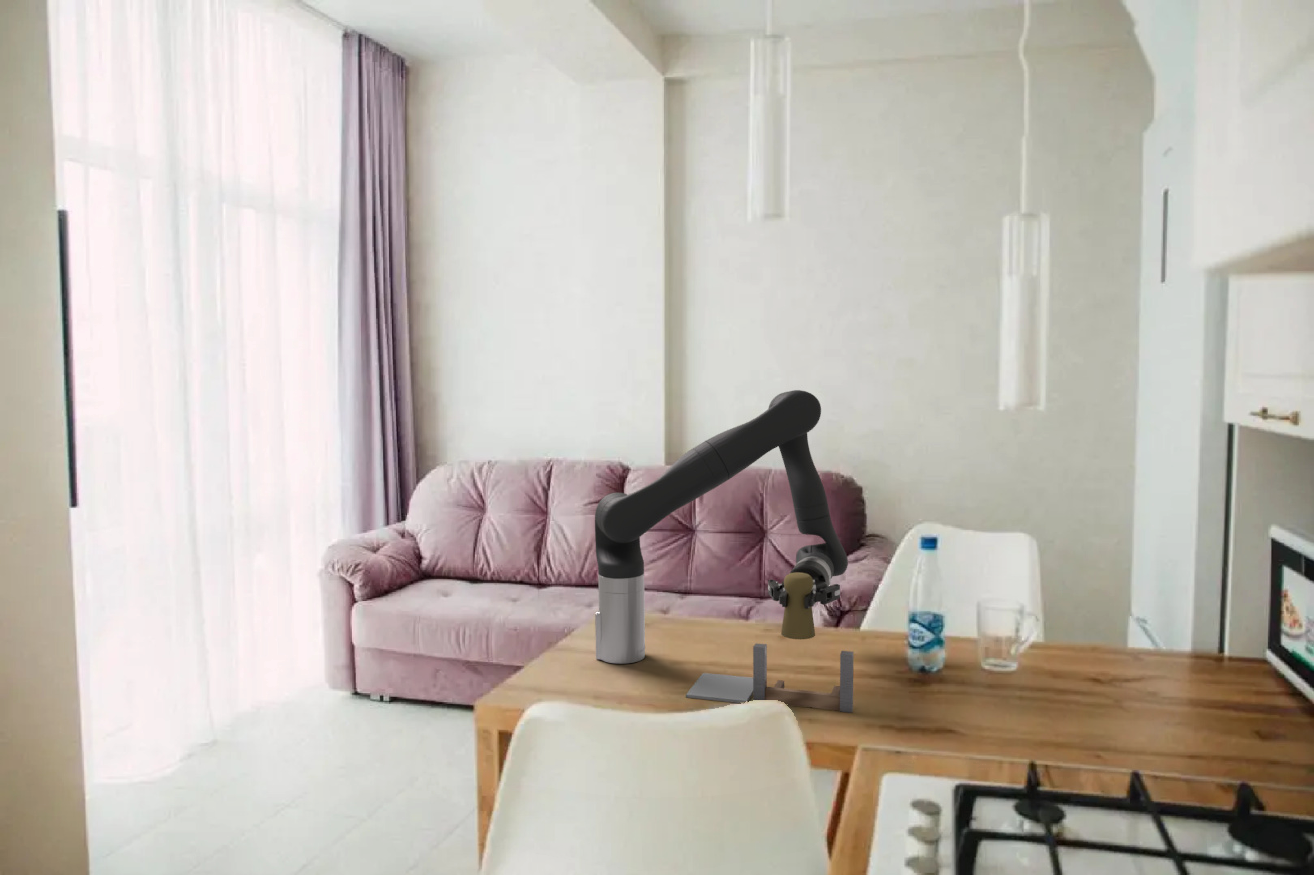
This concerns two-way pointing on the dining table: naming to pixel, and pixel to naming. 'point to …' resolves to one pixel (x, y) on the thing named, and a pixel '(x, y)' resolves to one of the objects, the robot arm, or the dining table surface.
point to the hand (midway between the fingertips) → (795, 602)
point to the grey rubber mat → (722, 688)
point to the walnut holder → (822, 700)
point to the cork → (798, 607)
